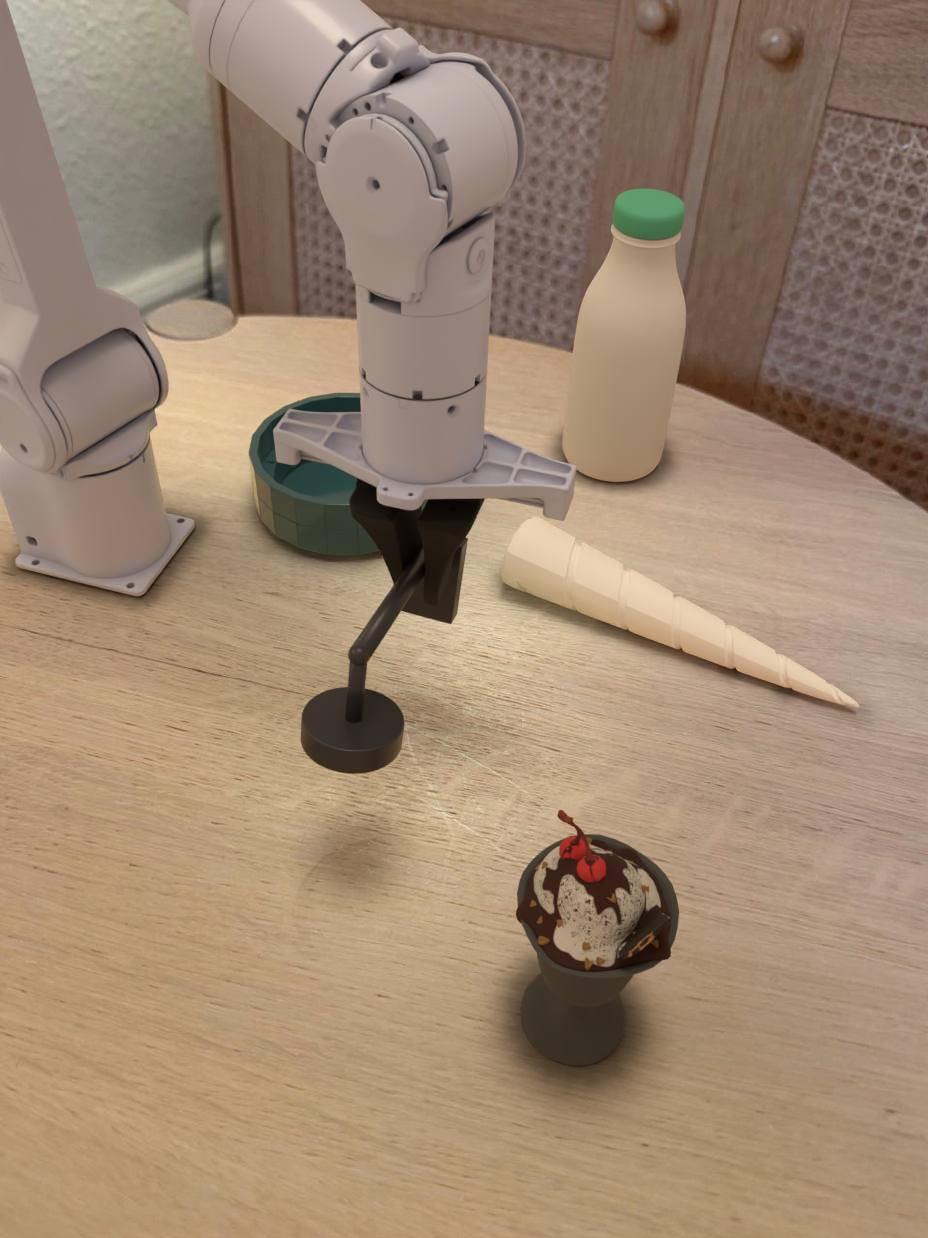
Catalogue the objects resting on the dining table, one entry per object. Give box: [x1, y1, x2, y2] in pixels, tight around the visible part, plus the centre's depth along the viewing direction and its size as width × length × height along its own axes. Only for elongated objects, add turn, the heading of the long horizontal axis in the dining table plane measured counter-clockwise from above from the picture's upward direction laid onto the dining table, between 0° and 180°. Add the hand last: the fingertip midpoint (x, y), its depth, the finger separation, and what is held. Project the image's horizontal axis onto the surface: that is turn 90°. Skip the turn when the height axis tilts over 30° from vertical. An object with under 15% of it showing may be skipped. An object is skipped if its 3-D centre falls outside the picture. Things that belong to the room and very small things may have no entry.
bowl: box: [248, 392, 428, 556], centre depth 77 cm, size 13×13×5 cm
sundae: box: [515, 809, 680, 1066], centre depth 46 cm, size 7×7×15 cm
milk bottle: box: [561, 188, 687, 483], centre depth 77 cm, size 8×8×20 cm
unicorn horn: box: [500, 516, 861, 708], centre depth 67 cm, size 5×24×5 cm, turn 57°
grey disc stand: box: [300, 537, 469, 775], centre depth 54 cm, size 15×5×6 cm, turn 163°
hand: (422, 589), depth 58 cm, fingers closed on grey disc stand
